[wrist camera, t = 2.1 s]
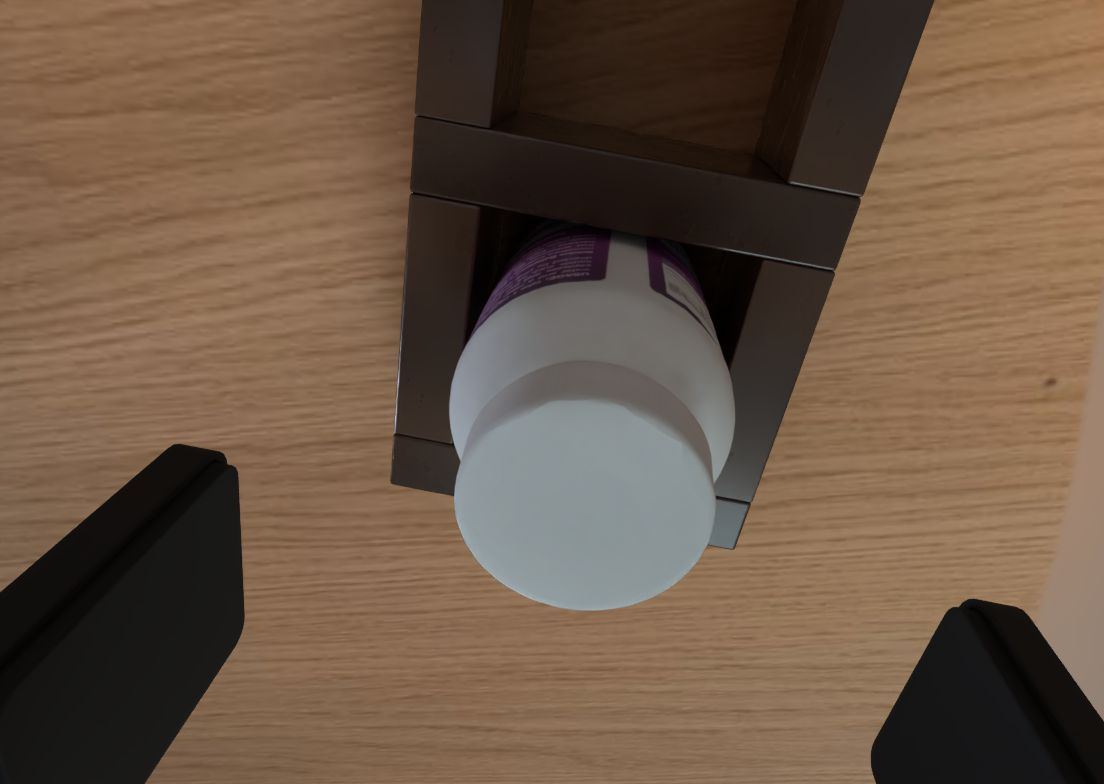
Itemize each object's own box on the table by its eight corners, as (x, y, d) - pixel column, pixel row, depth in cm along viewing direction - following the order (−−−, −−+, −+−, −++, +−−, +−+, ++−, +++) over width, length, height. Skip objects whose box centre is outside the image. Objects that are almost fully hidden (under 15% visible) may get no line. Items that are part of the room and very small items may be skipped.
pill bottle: (494, 372, 20) (396, 616, 12) (512, 187, 18) (407, 324, 9) (678, 401, 20) (716, 671, 12) (722, 218, 18) (811, 387, 9)
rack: (495, -298, 14) (448, -416, 10) (938, -219, 14) (1049, -309, 10) (429, 409, 21) (389, 485, 18) (716, 464, 21) (734, 551, 17)
